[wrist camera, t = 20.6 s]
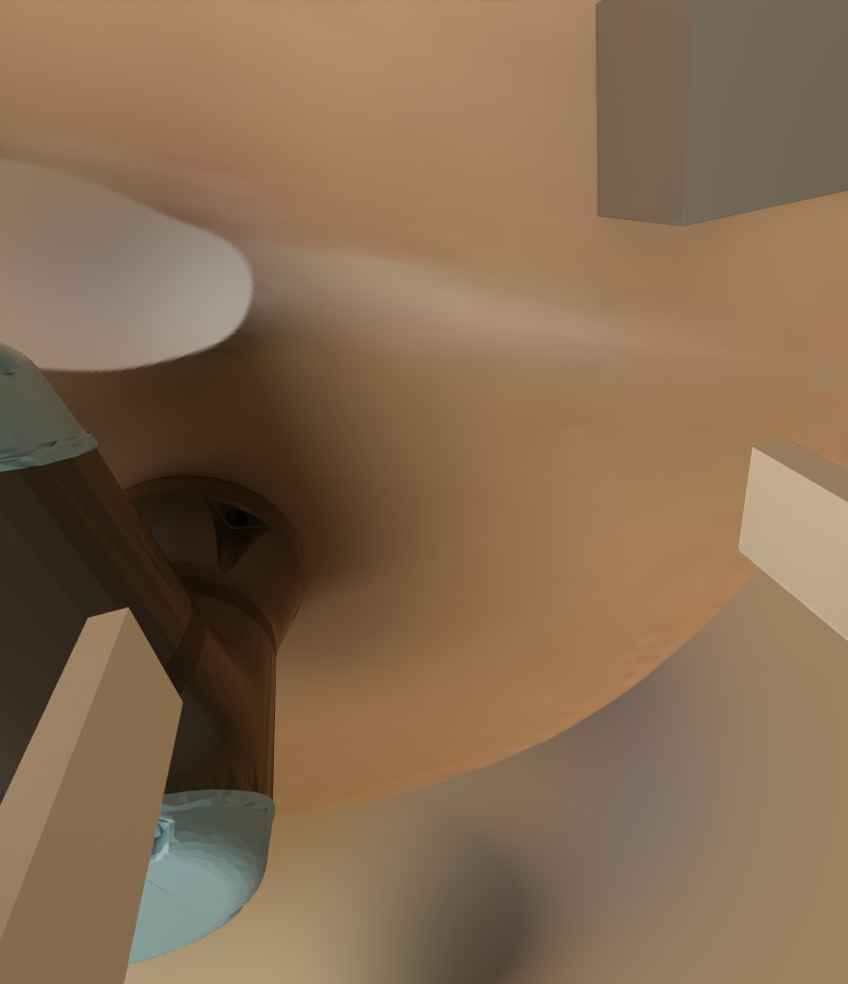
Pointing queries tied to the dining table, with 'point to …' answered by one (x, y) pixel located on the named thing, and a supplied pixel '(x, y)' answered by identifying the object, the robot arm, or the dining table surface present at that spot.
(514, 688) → the dining table surface
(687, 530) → the dining table surface
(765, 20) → the matte grey cube
